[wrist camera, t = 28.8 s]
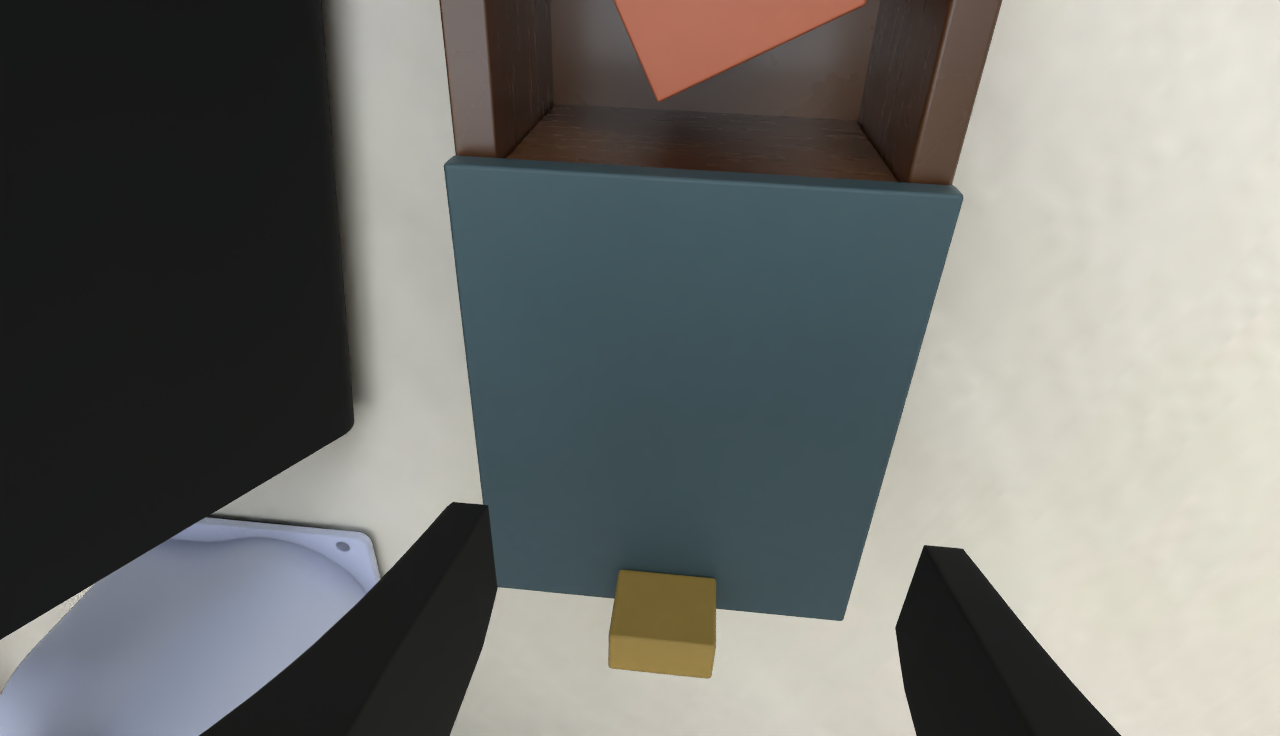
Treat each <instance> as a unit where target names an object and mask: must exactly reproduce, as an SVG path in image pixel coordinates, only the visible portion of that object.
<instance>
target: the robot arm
mask: <svg viewBox="0 0 1280 736" xmlns="http://www.w3.org/2000/svg"><path fill="white" fill-rule="evenodd" d="M496 592H497V579H496V570H495V561H494V552H493V543H492V534H491V525H490V516H489V507H488V505H480V504H469V503H458V502H453V503H451V504H450V505H449V506H447V507H446V509H445V510H444V511H443V512H442V513H441V514H440V515H439V516H438V518H437V519H436V520H435V521H434V522H433V523H432V524H431V525H430V527H429V528H428V529H427V530H426V531H425V532H424V533H423V534H422V536H421V537H420V538H419V539H418V540H417V541H416V542H415V543H414V544H413V545H412V547H411V548H410V549H409V550H408V551H407V552H406V553H405V554H404V555H403V556H402V557H401V558H400V560H399V561H398V562H397V563H396V564H395V565H394V566H393V567H392V568H391V569H390V570H389V571H388V572H387V573H386V574H385V575H384V576H383V577H382V578H380V574H379V569H378V565H377V561H376V557H375V553H374V549H373V544H372V541H371V539H370V538H369V537H368V536H367V535H365V534H364V533H361V532H354V531H343V530H333V529H322V528H312V527H301V526H291V525H280V524H270V523H259V522H249V521H238V520H228V519H217V518H207V517H205V518H204V519H202V520H200V521H199V522H197V523H195V524H193V525H192V526H190V527H188V528H187V529H185V530H183V531H182V532H180V533H178V534H177V535H175V536H173V537H172V538H170V539H168V540H167V541H165V542H163V543H162V544H160V545H158V546H157V547H155V548H153V549H152V550H150V551H148V552H146V553H145V554H143V555H141V556H140V557H138V558H136V559H135V560H133V561H131V562H130V563H128V564H126V565H125V566H123V567H121V568H120V569H118V570H116V571H115V572H113V573H111V574H110V575H108V576H106V577H105V578H103V579H101V580H100V581H98V582H96V583H95V584H94V585H93V586H92V587H91V588H90V589H89V590H88V591H87V592H86V593H85V595H84V596H83V597H82V598H81V599H80V600H79V601H78V602H77V603H76V604H75V605H74V606H73V607H72V608H71V609H70V610H69V611H68V612H67V614H66V615H65V616H64V617H63V618H62V619H61V620H60V621H59V622H58V623H57V624H56V625H55V626H54V627H53V628H52V629H51V630H50V631H49V633H48V634H47V635H46V636H45V637H44V638H43V639H42V640H41V641H40V642H39V643H38V644H37V645H36V646H35V647H34V648H33V649H32V650H31V652H30V653H29V654H28V655H27V656H26V657H25V658H24V660H23V661H22V662H21V663H20V664H19V666H18V667H17V668H16V670H15V671H14V673H13V674H12V676H11V677H10V679H9V680H8V682H7V684H6V686H5V687H4V689H3V691H2V693H1V694H0V736H450V733H451V730H452V728H453V725H454V722H455V720H456V717H457V714H458V712H459V709H460V706H461V704H462V701H463V699H464V696H465V693H466V691H467V688H468V685H469V682H470V680H471V677H472V674H473V672H474V669H475V666H476V664H477V661H478V658H479V655H480V653H481V650H482V647H483V644H484V640H485V636H486V632H487V629H488V625H489V621H490V617H491V613H492V609H493V604H494V600H495V596H496ZM895 628H896V635H897V643H898V650H899V657H900V664H901V670H902V677H903V683H904V689H905V693H906V697H907V701H908V705H909V709H910V712H911V716H912V720H913V724H914V727H915V731H916V735H917V736H1121V735H1120V734H1119V733H1118V732H1117V731H1116V730H1115V729H1114V728H1113V726H1112V725H1111V724H1110V723H1109V722H1108V721H1107V720H1106V719H1105V718H1104V717H1103V716H1102V715H1101V714H1100V713H1099V711H1098V710H1097V709H1096V708H1095V707H1094V706H1093V705H1092V704H1091V703H1090V702H1089V701H1088V700H1087V699H1086V697H1085V696H1084V695H1083V694H1082V693H1081V692H1080V691H1079V689H1078V688H1077V687H1076V686H1075V685H1074V684H1073V683H1072V682H1071V680H1070V679H1069V678H1068V677H1067V676H1066V675H1065V673H1064V672H1063V671H1062V670H1061V669H1060V668H1059V666H1058V665H1057V664H1056V663H1055V662H1054V661H1053V659H1052V658H1051V657H1050V656H1049V655H1048V653H1047V652H1046V651H1045V650H1044V649H1043V648H1042V646H1041V645H1040V644H1039V643H1038V642H1037V641H1036V639H1035V638H1034V637H1033V636H1032V634H1031V633H1030V632H1029V631H1028V630H1027V628H1026V627H1025V626H1024V625H1023V623H1022V622H1021V621H1020V620H1019V619H1018V617H1017V616H1016V615H1015V614H1014V612H1013V611H1012V610H1011V609H1010V607H1009V606H1008V605H1007V604H1006V602H1005V601H1004V600H1003V599H1002V597H1001V596H1000V595H999V594H998V592H997V591H996V590H995V589H994V587H993V586H992V585H991V583H990V582H989V581H988V580H987V578H986V577H985V576H984V575H983V573H982V572H981V571H980V570H979V568H978V567H977V566H976V565H975V563H974V562H973V561H972V560H971V558H970V557H969V556H968V555H967V554H966V552H965V551H964V550H963V549H959V548H948V547H937V546H927V545H924V547H923V550H922V553H921V556H920V559H919V561H918V564H917V567H916V570H915V573H914V576H913V579H912V581H911V584H910V587H909V590H908V593H907V596H906V599H905V601H904V604H903V607H902V610H901V613H900V616H899V619H898V622H897V624H896V627H895Z"/></svg>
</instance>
